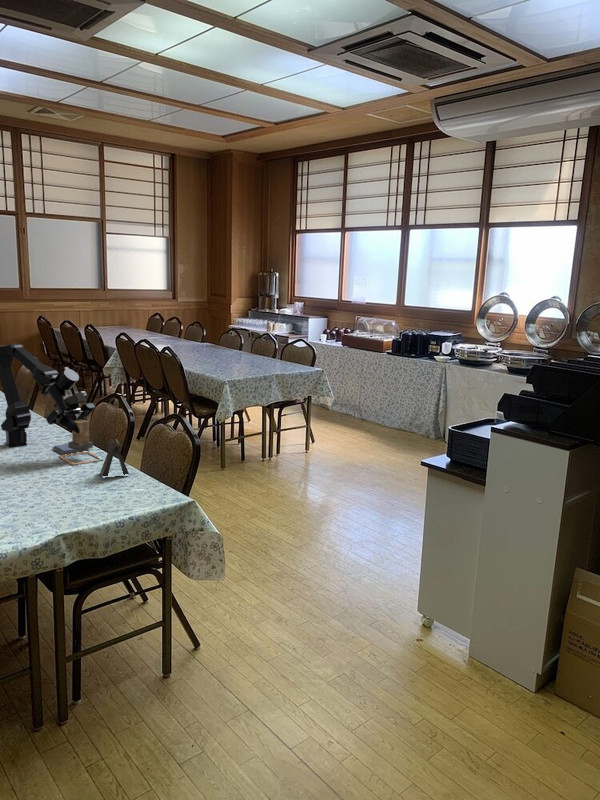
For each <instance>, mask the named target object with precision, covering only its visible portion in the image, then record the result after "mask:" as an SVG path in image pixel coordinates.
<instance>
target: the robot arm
mask: <svg viewBox="0 0 600 800" xmlns="http://www.w3.org/2000/svg"><path fill="white" fill-rule="evenodd" d="M14 359H16V360H17V361H18V362H19V363H20V364H22V366H24V367H25V368H26V369H27V370H28V371H29V372H30V373H31V374H32V378H33V380H34V381H35V382H36V383H37V385H38V386H40V387H45V386H48V387H46V388H44V392H43V396H44V397H47V396H50V398H51V399H52V401H53V402H54V405H53V406H54V408H55V409H52V410H51V412H50V413H49V414H48V415H47V416H46V421H47V424H48V425H55V424H56V423H57V421H58V423H57V425H61V426H63V427H64V428H67V429H69V430H71V431H74V432H76V433H79V432H80V431H79V429H78V427H77V425H76V424H75V422H74V421H76V420H81V419H82V420H85V421H88V417H89V416H90V414H92V412H93V411H95V409H96V406H95V404H94V403H93V402H87V401H86V400H88V398H89V396H88V394H87V392H86V391H85V390H83V391H82V390H81V391H79V392H78V393H74V394H69V392H68V391H69V390H71V389H72V387H74V385H75V384H76V383H77V382H78V381H79V379H80V376H79V374H78V372H76V371H75V370H73V369H70V368H69V366H65V367H64V366H63V367H62V368H61V370H60V372H58V371H57V370H56V369H55V368H54V367H51V366H49V365H45V364H43V363H42V362H41V361H40V360H38V359H37V358H36V357H35V356H34V355H33V354H31V352H30V351H28V350H27V349H25V347H24V345H23V344H21V343H11V344H4V345H0V384H1V388H2V390H3V395H4V397H5V400H6V410H5V420H4V421H3V422H1V424H0V427H1V431H4V432H5V442H4V445H6V446H8V447H9V448H13V447H21V446H27V445H28V443H27V442H28V441H27V440H28V439H27V436H28V435H27V432H26V429H29V427H30V423H31V420H32V413H31V410H30V407H29V405H25V404H24V403H23V402H22V400H21V397H20V393H19V390H18V387H17V382H16V378H15V375H14V371H13V368H12V365H13V362H14ZM83 402H84V403H83ZM85 402H87V403H85ZM81 403H83V404H82V405H81ZM80 406H81V407H80ZM73 416H75V417H76V419H75V420H74V419H73ZM57 419H58V420H57Z"/></svg>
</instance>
